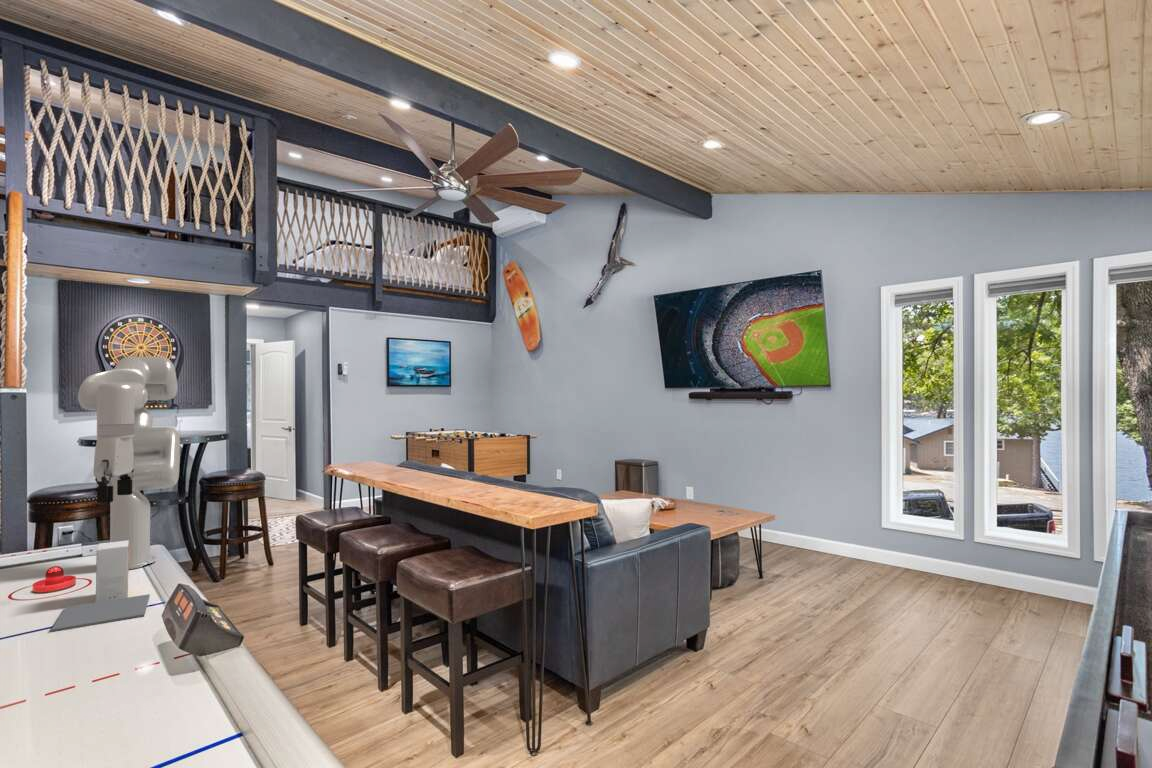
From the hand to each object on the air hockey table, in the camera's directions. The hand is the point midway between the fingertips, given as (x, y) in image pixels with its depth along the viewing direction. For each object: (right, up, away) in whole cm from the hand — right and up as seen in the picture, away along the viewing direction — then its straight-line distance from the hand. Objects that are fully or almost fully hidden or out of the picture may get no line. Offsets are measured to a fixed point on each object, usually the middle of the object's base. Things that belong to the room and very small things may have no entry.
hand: (115, 498), depth 148 cm
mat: (+8, -24, -13) cm, 28 cm away
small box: (+1, -25, -2) cm, 25 cm away
